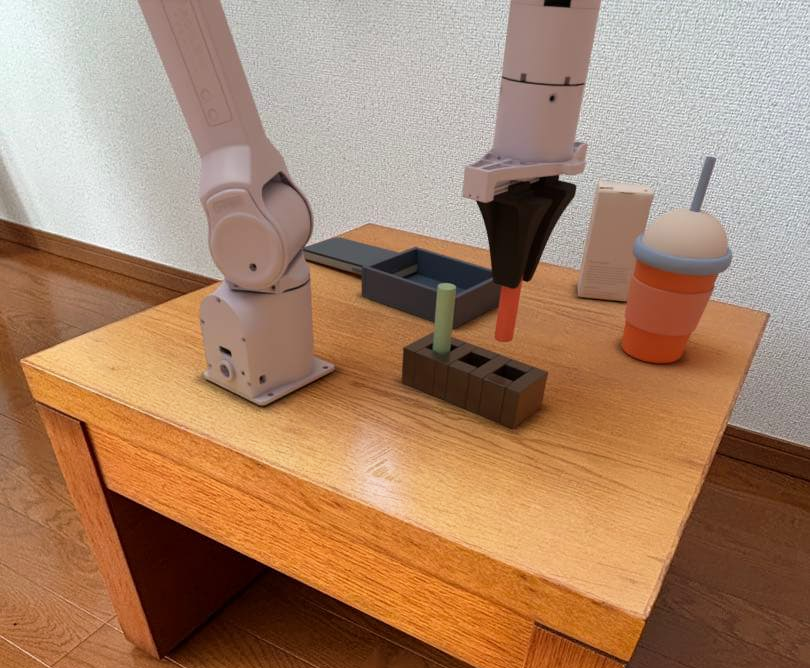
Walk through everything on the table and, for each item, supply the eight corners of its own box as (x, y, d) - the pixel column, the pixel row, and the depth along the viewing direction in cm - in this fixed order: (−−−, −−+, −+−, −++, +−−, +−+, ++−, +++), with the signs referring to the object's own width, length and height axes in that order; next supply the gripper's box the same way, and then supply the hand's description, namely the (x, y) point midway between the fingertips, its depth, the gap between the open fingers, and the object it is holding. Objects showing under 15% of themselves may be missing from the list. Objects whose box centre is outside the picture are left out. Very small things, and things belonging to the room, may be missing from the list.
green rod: (440, 387, 61) (449, 291, 55) (426, 382, 62) (433, 286, 56) (450, 381, 62) (459, 286, 56) (436, 376, 63) (444, 281, 57)
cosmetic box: (623, 290, 82) (652, 183, 74) (627, 304, 79) (657, 193, 71) (574, 285, 83) (597, 178, 75) (575, 298, 79) (599, 188, 71)
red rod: (506, 344, 56) (524, 232, 50) (490, 338, 57) (506, 228, 51) (516, 338, 57) (534, 228, 51) (500, 333, 58) (516, 224, 52)
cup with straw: (700, 376, 65) (777, 174, 53) (608, 364, 66) (662, 163, 54) (689, 338, 72) (755, 152, 60) (605, 328, 73) (653, 142, 61)
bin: (502, 302, 77) (506, 273, 75) (453, 329, 71) (456, 297, 69) (413, 274, 83) (415, 246, 81) (361, 296, 77) (361, 266, 74)
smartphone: (337, 235, 89) (426, 258, 82) (337, 248, 90) (425, 272, 83) (297, 247, 84) (389, 273, 77) (298, 261, 85) (388, 287, 79)
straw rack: (541, 407, 59) (548, 371, 57) (513, 429, 56) (519, 392, 54) (432, 364, 64) (435, 330, 62) (401, 382, 61) (403, 347, 59)
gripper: (542, 97, 38) (507, 321, 47) (640, 80, 47) (595, 271, 56) (445, 81, 41) (429, 295, 50) (554, 68, 50) (524, 252, 59)
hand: (512, 281), depth 54 cm, fingers closed on red rod, 1 cm apart
